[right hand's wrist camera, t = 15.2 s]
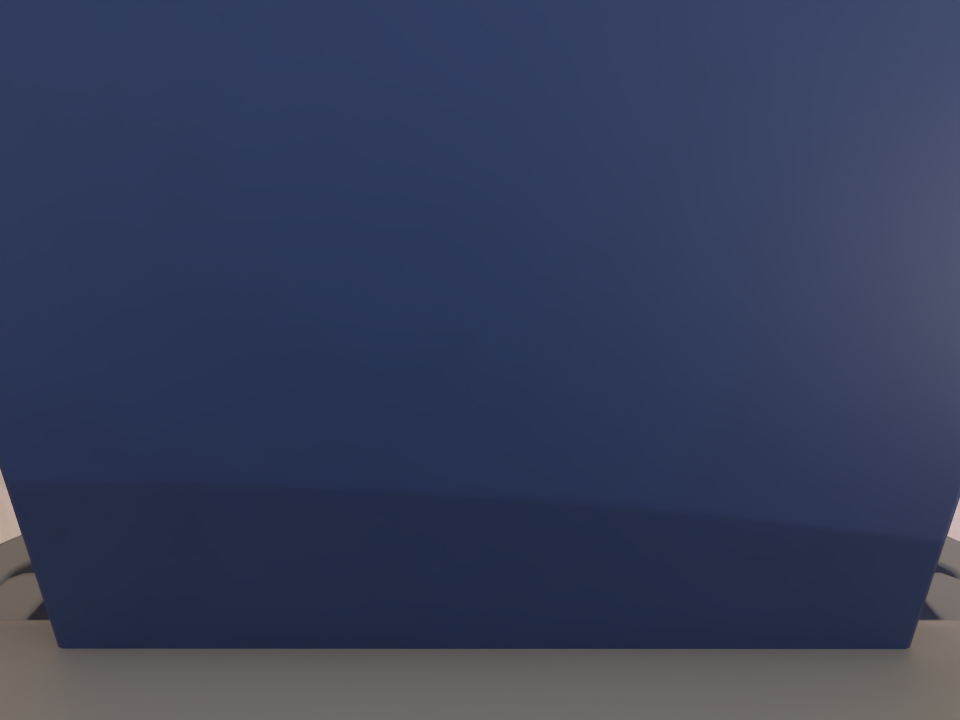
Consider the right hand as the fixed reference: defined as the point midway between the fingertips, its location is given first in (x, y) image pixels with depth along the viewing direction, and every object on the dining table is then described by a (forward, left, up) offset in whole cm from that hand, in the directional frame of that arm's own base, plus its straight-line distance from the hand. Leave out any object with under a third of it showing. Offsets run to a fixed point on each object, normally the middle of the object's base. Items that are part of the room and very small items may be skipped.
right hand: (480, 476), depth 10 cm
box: (+8, +1, -7) cm, 10 cm away
